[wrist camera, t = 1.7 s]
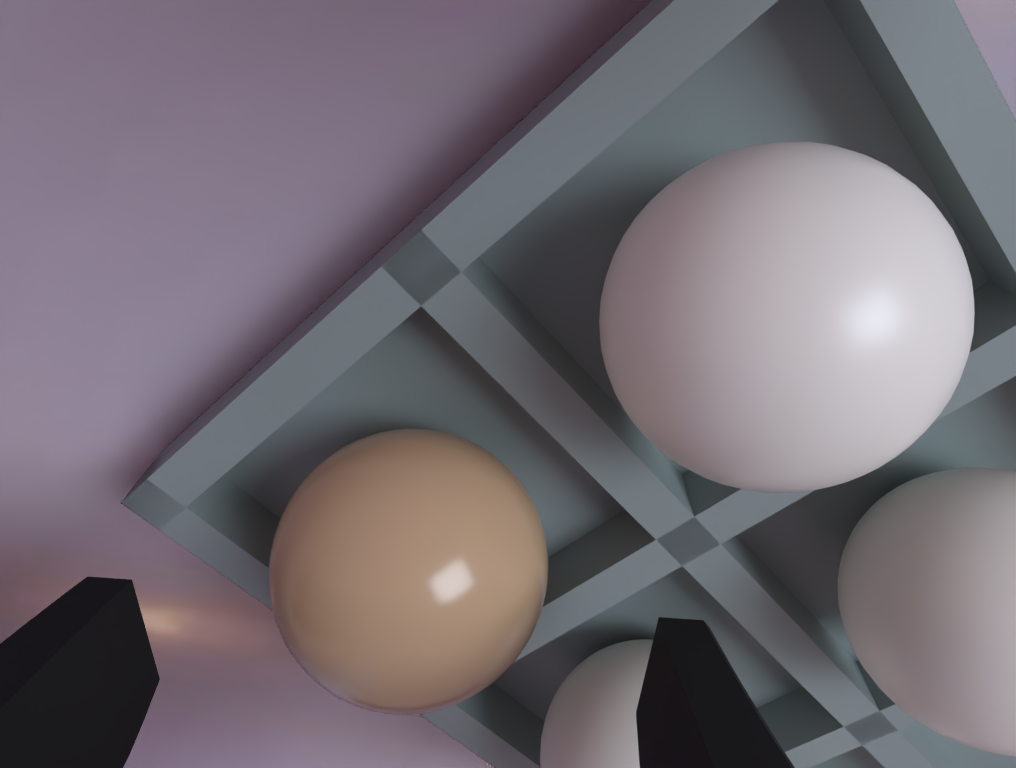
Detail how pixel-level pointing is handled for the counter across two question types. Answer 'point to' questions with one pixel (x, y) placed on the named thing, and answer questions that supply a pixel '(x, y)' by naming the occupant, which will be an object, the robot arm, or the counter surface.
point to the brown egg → (408, 571)
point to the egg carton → (700, 383)
